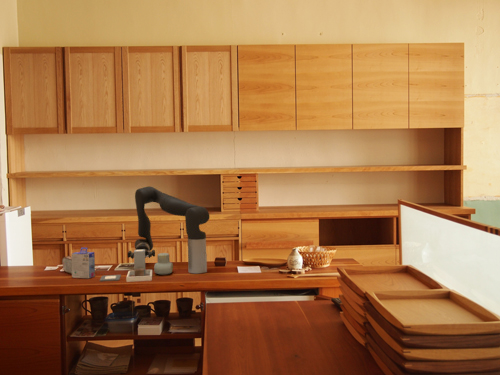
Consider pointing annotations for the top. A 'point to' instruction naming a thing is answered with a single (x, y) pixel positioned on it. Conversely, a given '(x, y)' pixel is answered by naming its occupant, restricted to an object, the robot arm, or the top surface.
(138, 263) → the label box
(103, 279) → the pad
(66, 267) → the tin
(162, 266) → the air freshener
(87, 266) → the ink cartridge box
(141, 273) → the walnut block
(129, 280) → the bin rim
